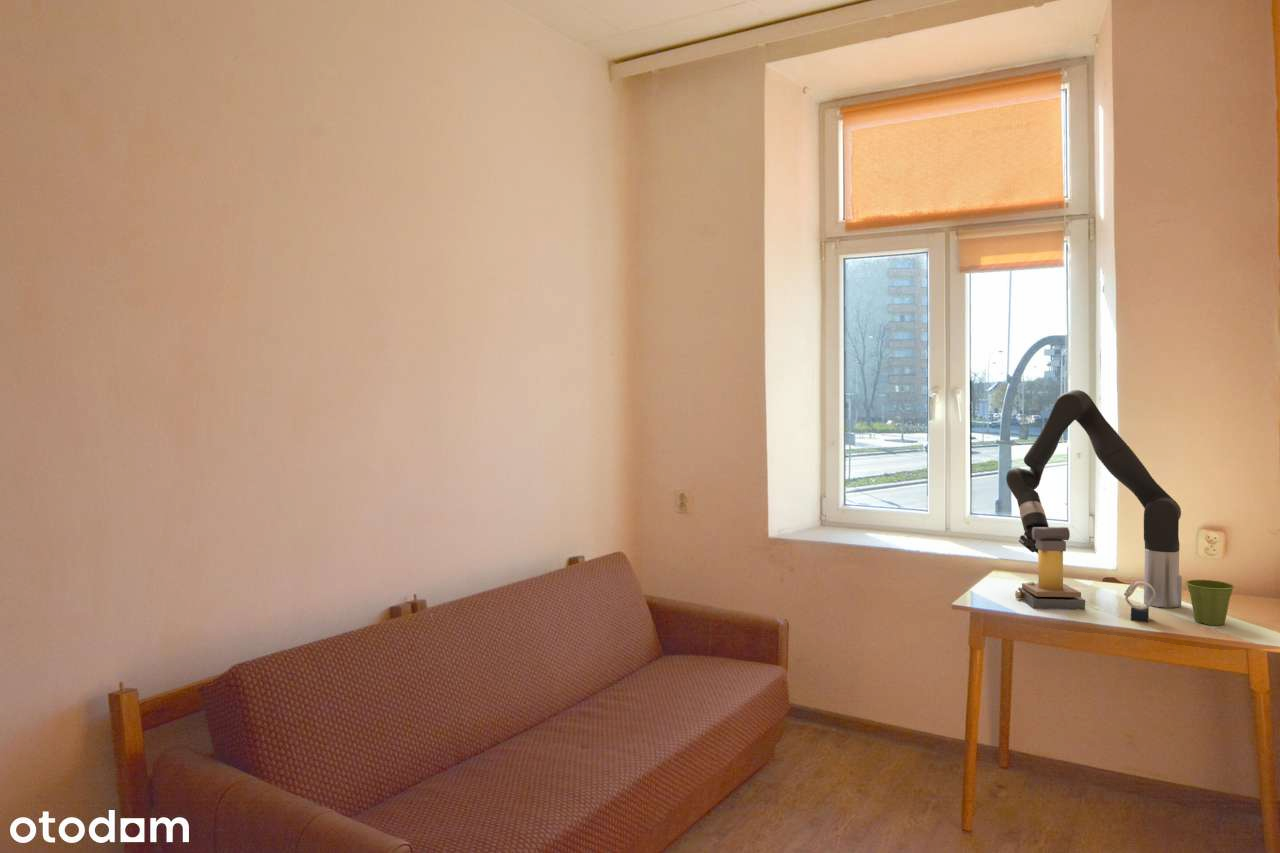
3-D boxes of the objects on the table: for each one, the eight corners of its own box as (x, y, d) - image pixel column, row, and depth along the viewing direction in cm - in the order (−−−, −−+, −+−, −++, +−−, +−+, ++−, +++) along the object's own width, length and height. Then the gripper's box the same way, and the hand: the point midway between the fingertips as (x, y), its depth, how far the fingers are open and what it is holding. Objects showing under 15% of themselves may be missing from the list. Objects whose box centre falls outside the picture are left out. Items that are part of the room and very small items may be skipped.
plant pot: (1214, 616, 252) (1215, 578, 251) (1244, 627, 240) (1245, 588, 239) (1175, 617, 251) (1176, 579, 251) (1203, 628, 240) (1204, 589, 239)
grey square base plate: (1070, 596, 277) (1070, 587, 277) (1090, 609, 261) (1090, 600, 260) (1011, 595, 279) (1011, 586, 279) (1028, 608, 263) (1028, 598, 263)
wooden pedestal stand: (1064, 588, 275) (1064, 524, 275) (1081, 597, 261) (1080, 530, 261) (1022, 587, 277) (1021, 524, 277) (1036, 596, 263) (1036, 529, 263)
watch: (1123, 615, 254) (1124, 578, 254) (1155, 618, 250) (1156, 581, 250) (1123, 619, 250) (1123, 582, 249) (1155, 623, 245) (1155, 585, 245)
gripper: (1015, 511, 283) (1026, 555, 271) (1057, 511, 281) (1070, 555, 270) (1010, 524, 288) (1021, 568, 277) (1051, 524, 287) (1064, 568, 275)
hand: (1045, 561), depth 273 cm, fingers closed
